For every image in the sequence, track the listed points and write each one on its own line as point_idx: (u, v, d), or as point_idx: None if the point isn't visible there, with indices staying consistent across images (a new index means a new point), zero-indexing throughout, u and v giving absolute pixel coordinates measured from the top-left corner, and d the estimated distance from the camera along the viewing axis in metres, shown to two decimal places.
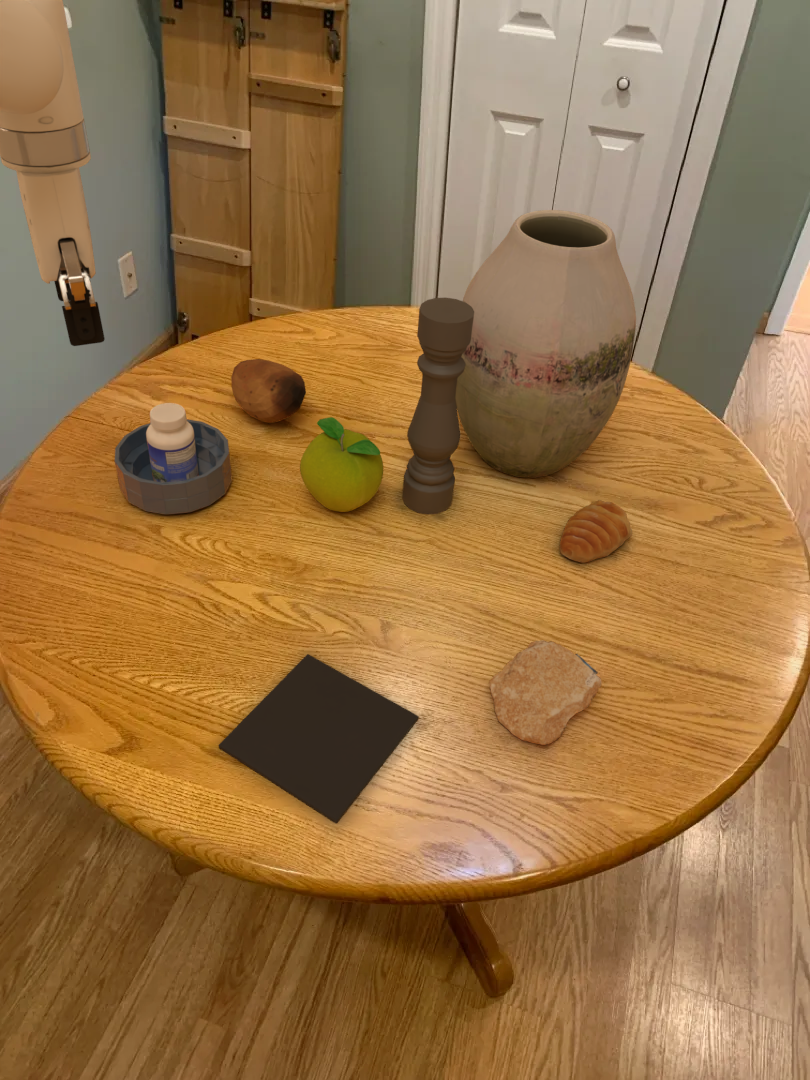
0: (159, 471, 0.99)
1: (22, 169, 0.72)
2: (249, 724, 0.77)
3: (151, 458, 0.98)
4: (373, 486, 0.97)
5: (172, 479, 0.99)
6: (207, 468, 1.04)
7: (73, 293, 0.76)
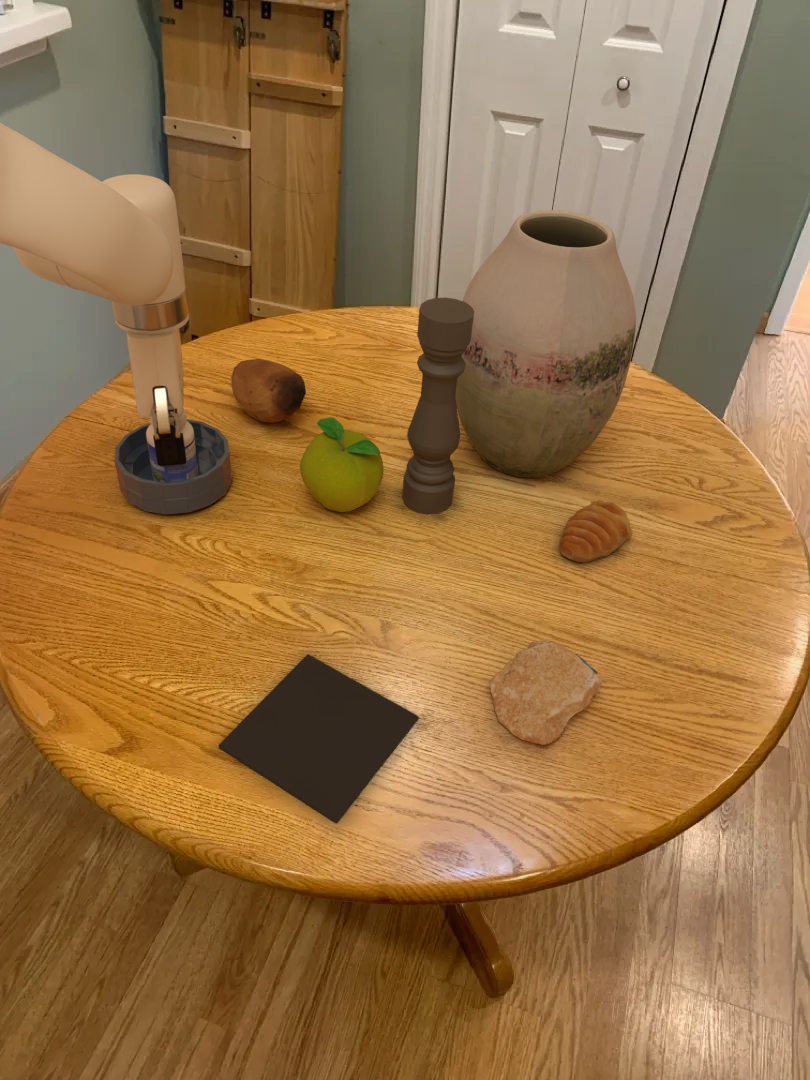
0: (159, 471, 0.99)
1: (129, 330, 0.85)
2: (249, 724, 0.77)
3: (151, 458, 0.98)
4: (373, 486, 0.97)
5: (172, 479, 0.99)
6: (207, 468, 1.04)
7: (161, 435, 0.90)
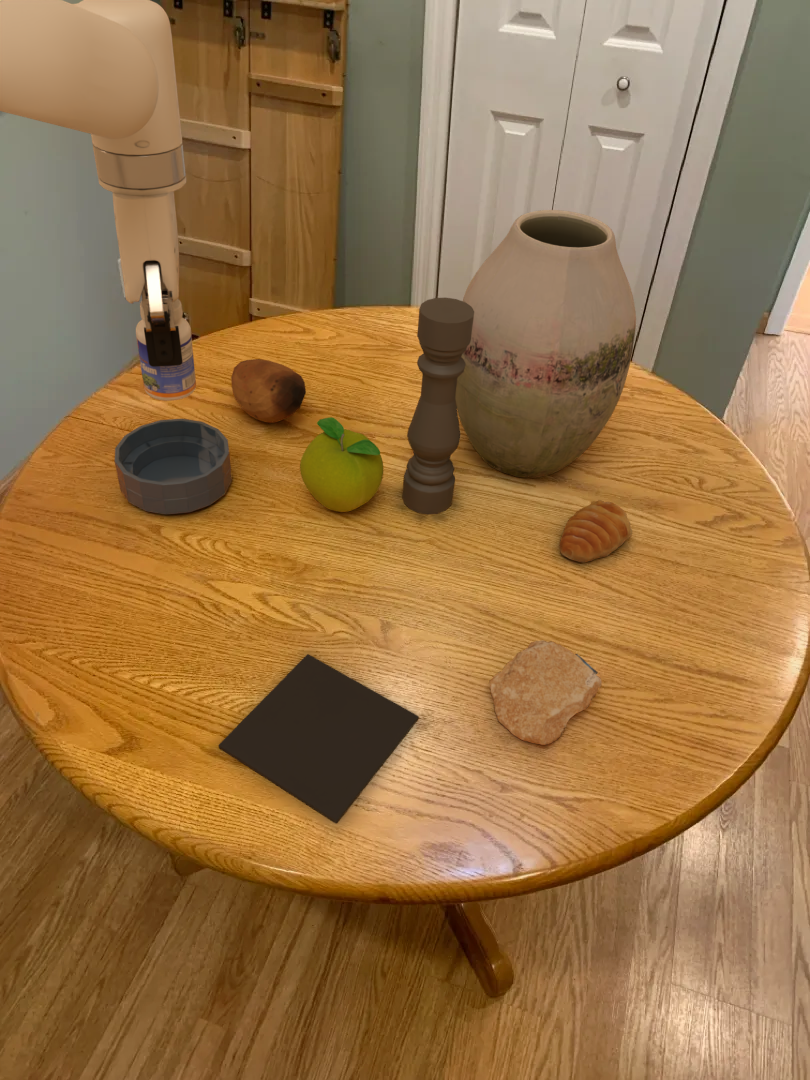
0: (151, 374, 0.85)
1: (115, 190, 0.72)
2: (249, 724, 0.77)
3: (141, 360, 0.85)
4: (373, 486, 0.97)
5: (165, 384, 0.86)
6: (207, 468, 1.04)
7: (153, 322, 0.77)
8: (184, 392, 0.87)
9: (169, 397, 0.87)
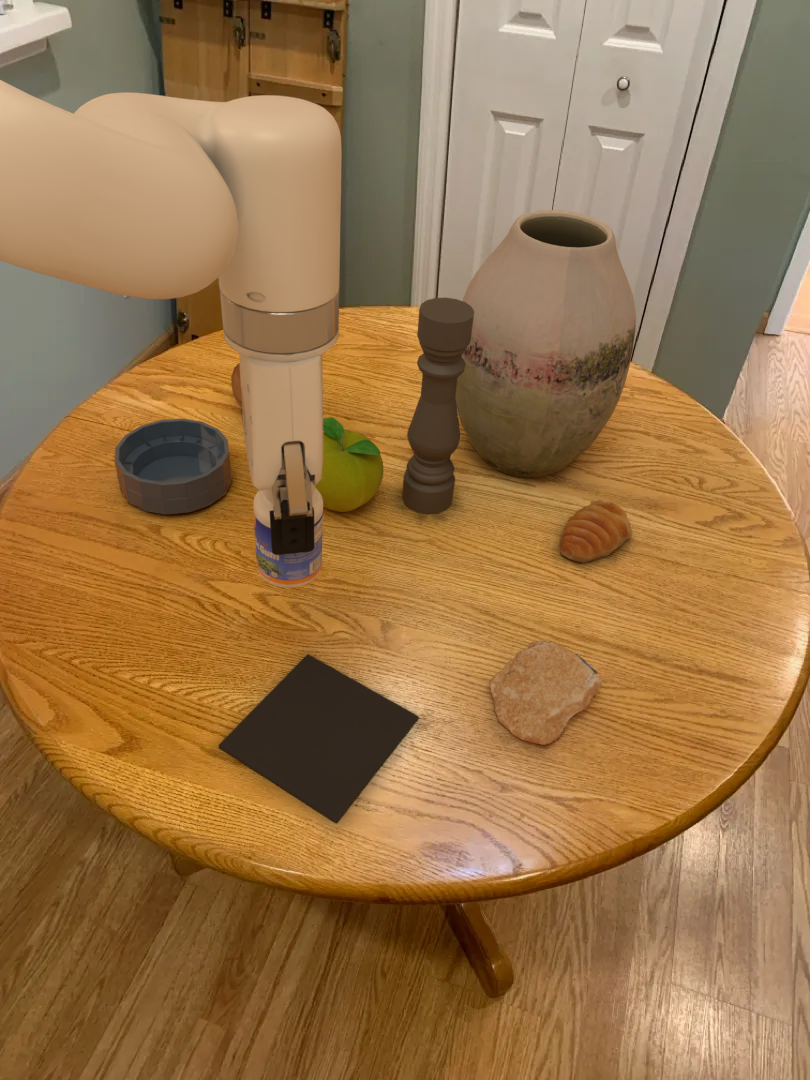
0: (271, 559, 0.66)
1: (251, 354, 0.53)
2: (249, 724, 0.77)
3: (259, 541, 0.66)
4: (373, 486, 0.97)
5: (289, 571, 0.66)
6: (207, 468, 1.04)
7: (290, 516, 0.58)
8: (310, 576, 0.68)
9: (292, 584, 0.68)
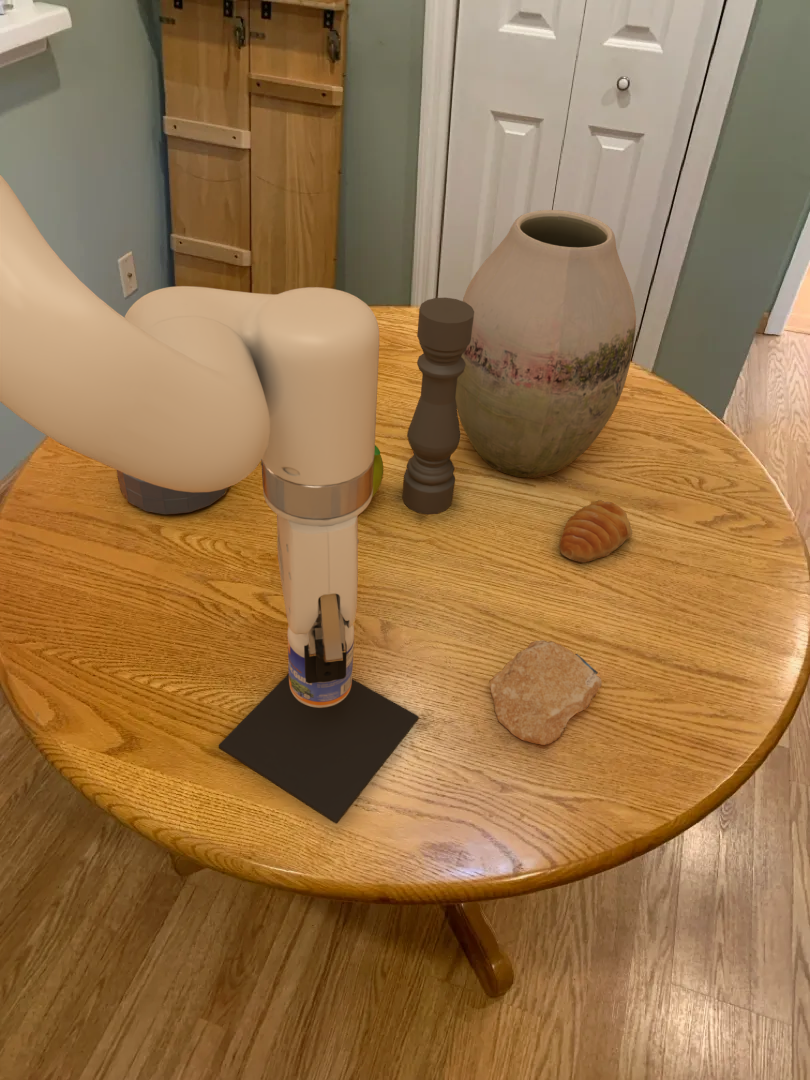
0: (304, 683, 0.69)
1: (291, 518, 0.55)
2: (249, 724, 0.77)
3: (293, 666, 0.68)
4: (373, 486, 0.97)
5: (321, 694, 0.69)
6: None
7: None
8: (341, 697, 0.71)
9: (323, 705, 0.70)
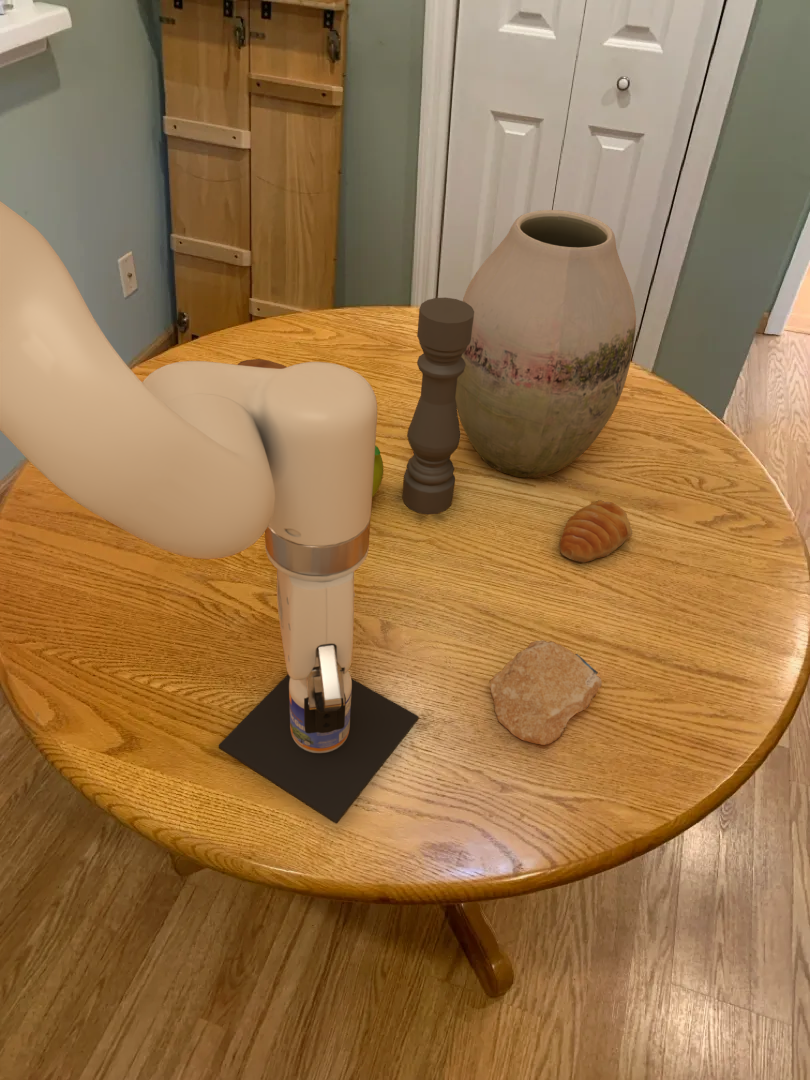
0: (304, 732, 0.73)
1: (291, 574, 0.59)
2: (249, 724, 0.77)
3: (294, 716, 0.73)
4: (373, 486, 0.97)
5: (320, 741, 0.74)
6: None
7: (325, 710, 0.62)
8: (339, 743, 0.75)
9: (323, 751, 0.75)
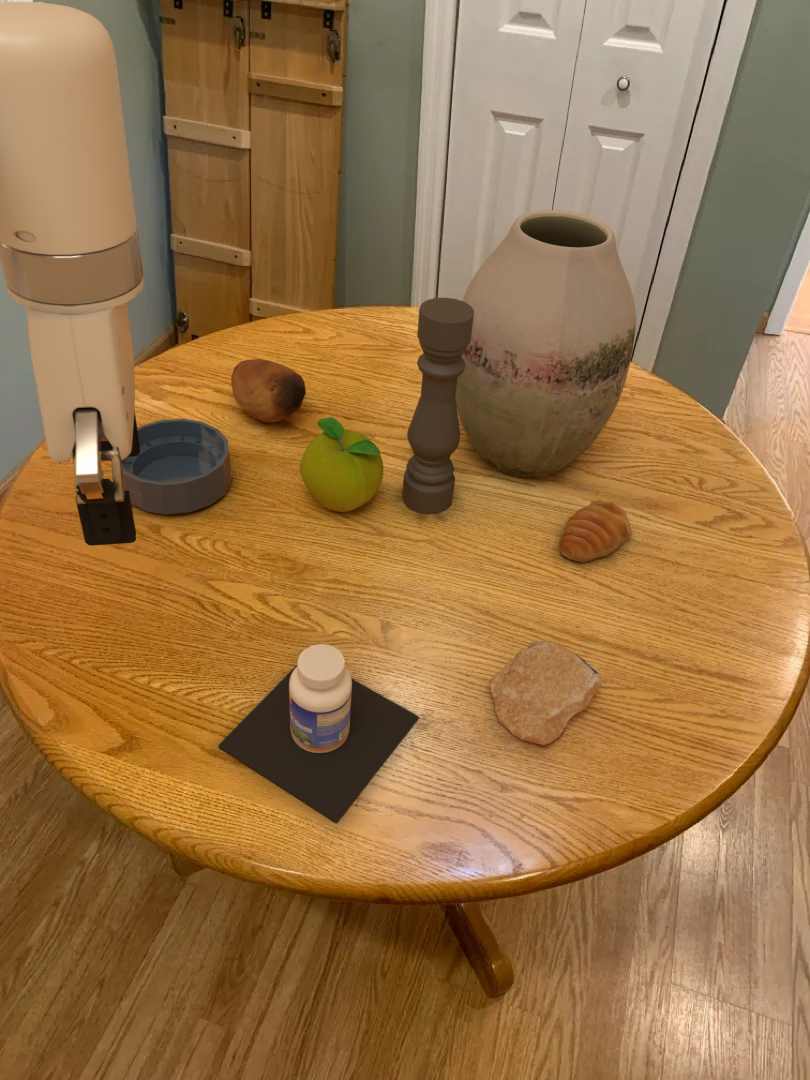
0: (304, 732, 0.73)
1: (29, 304, 0.46)
2: (249, 724, 0.77)
3: (294, 716, 0.73)
4: (373, 486, 0.97)
5: (320, 741, 0.74)
6: (207, 468, 1.04)
7: (84, 492, 0.49)
8: (339, 743, 0.75)
9: (323, 751, 0.75)
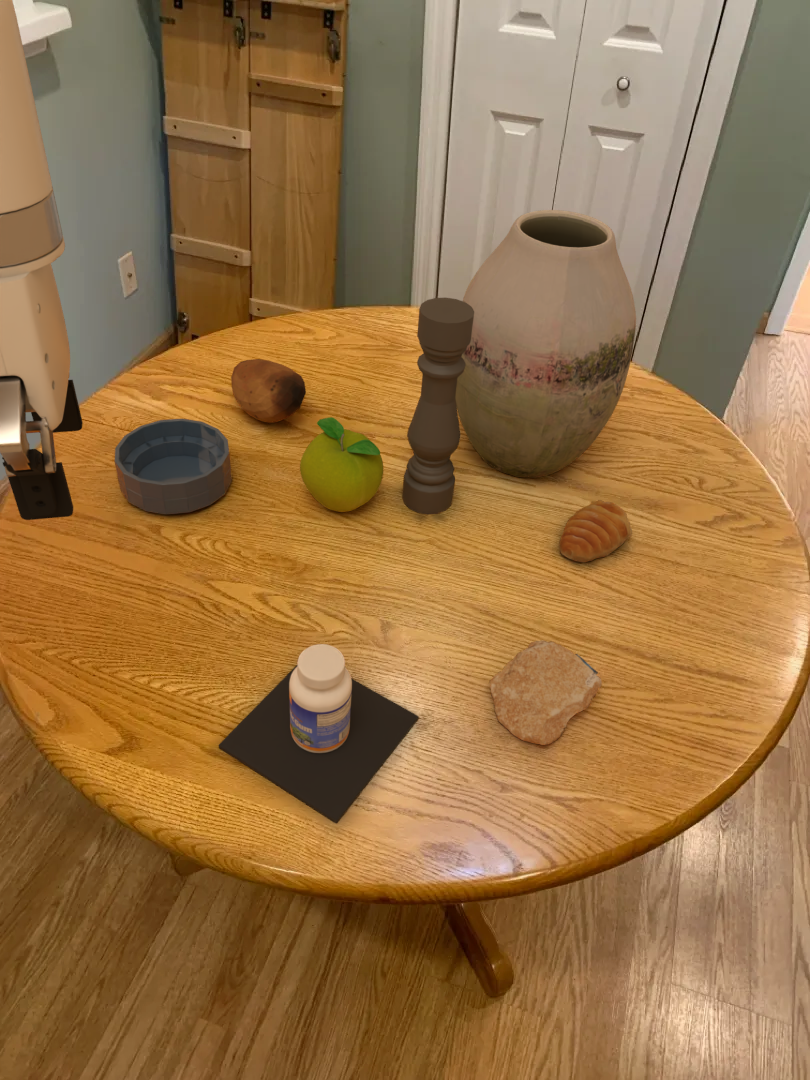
0: (304, 732, 0.73)
1: None
2: (249, 724, 0.77)
3: (294, 716, 0.73)
4: (373, 486, 0.97)
5: (320, 741, 0.74)
6: (207, 468, 1.04)
7: (9, 462, 0.48)
8: (339, 743, 0.75)
9: (323, 751, 0.75)
